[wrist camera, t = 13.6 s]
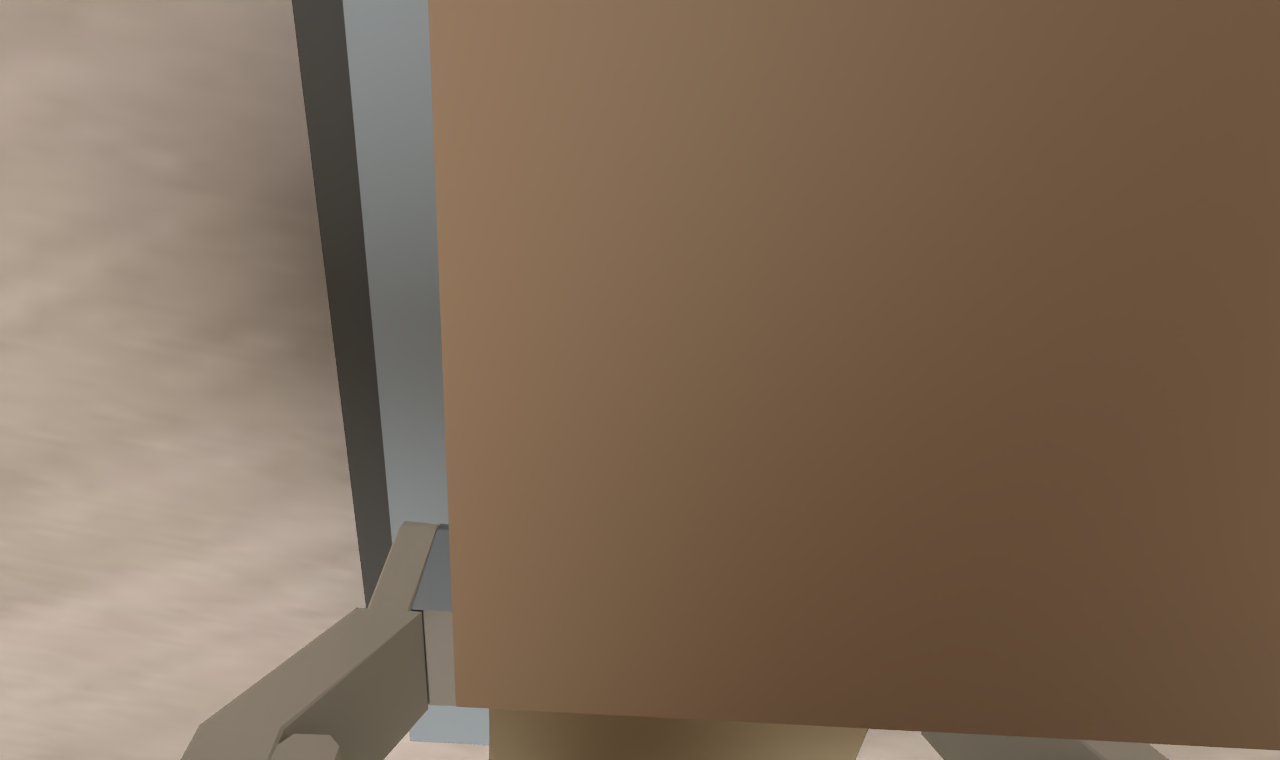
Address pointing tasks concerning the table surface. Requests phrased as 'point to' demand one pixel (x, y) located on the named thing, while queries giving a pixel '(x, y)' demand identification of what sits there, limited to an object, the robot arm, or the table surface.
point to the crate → (865, 362)
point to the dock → (382, 274)
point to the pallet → (660, 738)
